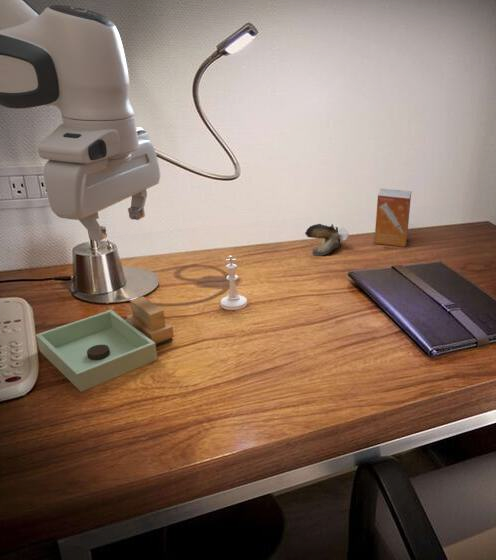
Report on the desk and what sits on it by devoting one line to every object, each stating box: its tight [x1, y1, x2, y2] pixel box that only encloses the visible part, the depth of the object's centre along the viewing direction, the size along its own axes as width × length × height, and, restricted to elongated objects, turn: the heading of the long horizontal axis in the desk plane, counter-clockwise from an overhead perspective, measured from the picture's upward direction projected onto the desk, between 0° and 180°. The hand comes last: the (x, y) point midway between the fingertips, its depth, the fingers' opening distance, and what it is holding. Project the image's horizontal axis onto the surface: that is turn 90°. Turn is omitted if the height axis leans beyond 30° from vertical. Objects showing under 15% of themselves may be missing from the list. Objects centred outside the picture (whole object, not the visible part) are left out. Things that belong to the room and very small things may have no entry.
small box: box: [374, 188, 412, 248], centre depth 133 cm, size 8×6×13 cm
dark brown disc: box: [87, 345, 110, 360], centre depth 81 cm, size 3×3×1 cm
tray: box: [35, 309, 159, 393], centre depth 81 cm, size 14×11×4 cm
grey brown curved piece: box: [304, 223, 349, 256], centre depth 127 cm, size 8×7×9 cm
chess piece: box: [220, 255, 248, 311], centre depth 98 cm, size 5×5×10 cm
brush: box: [125, 296, 175, 348], centre depth 86 cm, size 8×4×6 cm, turn 52°
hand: (119, 228), depth 80 cm, fingers open, 8 cm apart
